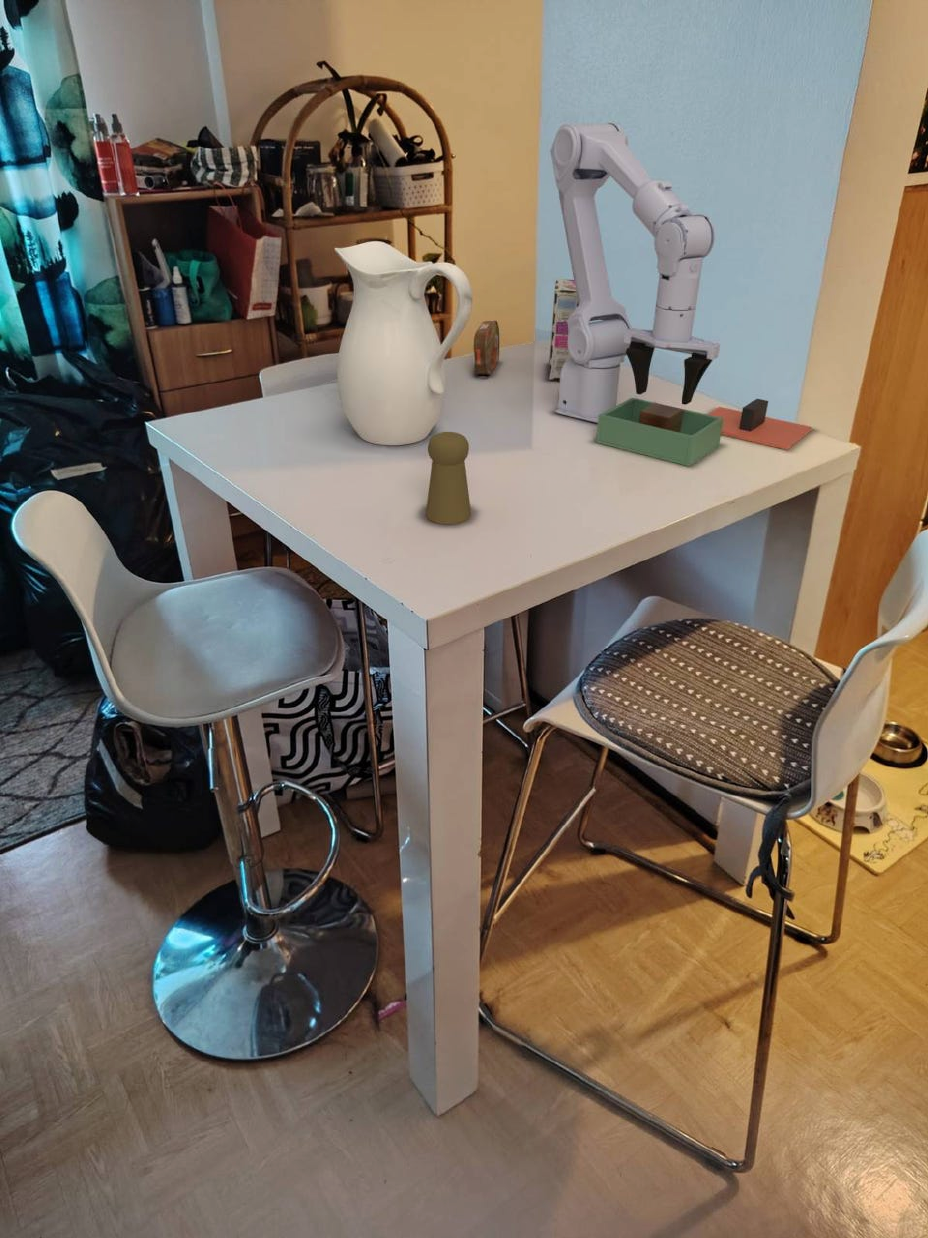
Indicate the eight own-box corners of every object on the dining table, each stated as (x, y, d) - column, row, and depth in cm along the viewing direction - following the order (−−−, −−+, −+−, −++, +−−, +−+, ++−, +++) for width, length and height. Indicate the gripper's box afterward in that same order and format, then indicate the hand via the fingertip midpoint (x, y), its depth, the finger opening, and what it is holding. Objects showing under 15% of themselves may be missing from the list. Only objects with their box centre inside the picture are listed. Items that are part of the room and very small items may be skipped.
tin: (487, 380, 168) (488, 335, 164) (470, 379, 169) (471, 334, 164) (500, 358, 181) (501, 316, 176) (485, 357, 181) (486, 315, 177)
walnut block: (636, 441, 140) (639, 410, 138) (650, 433, 144) (654, 402, 141) (665, 449, 138) (669, 417, 135) (679, 440, 141) (683, 409, 138)
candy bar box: (574, 382, 168) (581, 291, 159) (548, 381, 168) (553, 290, 160) (574, 365, 177) (581, 278, 169) (549, 364, 178) (554, 277, 169)
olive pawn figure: (424, 505, 120) (423, 427, 115) (469, 504, 121) (470, 426, 115) (426, 525, 115) (425, 444, 109) (473, 523, 116) (474, 443, 110)
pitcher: (319, 434, 143) (304, 248, 128) (395, 409, 154) (390, 235, 139) (424, 475, 129) (421, 272, 115) (500, 444, 140) (506, 256, 125)
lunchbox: (595, 442, 141) (598, 414, 139) (629, 423, 149) (631, 397, 146) (689, 466, 133) (693, 437, 131) (719, 445, 141) (724, 417, 138)
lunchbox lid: (691, 427, 147) (694, 402, 145) (718, 410, 155) (722, 386, 153) (787, 449, 139) (792, 424, 137) (811, 430, 147) (817, 405, 145)
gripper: (618, 303, 131) (609, 394, 138) (711, 319, 123) (696, 414, 131) (640, 295, 136) (630, 383, 143) (731, 309, 128) (716, 402, 135)
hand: (663, 397), depth 137 cm, fingers open, 7 cm apart
